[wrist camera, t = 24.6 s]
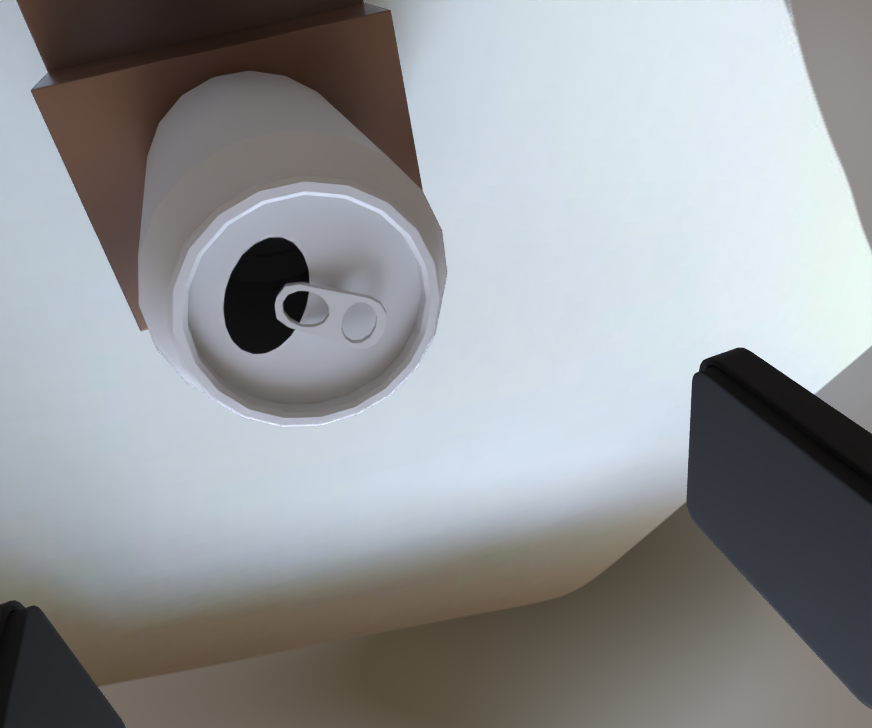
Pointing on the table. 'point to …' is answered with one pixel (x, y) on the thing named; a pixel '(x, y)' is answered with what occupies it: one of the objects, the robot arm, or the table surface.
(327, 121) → the can
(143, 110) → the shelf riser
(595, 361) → the table surface
